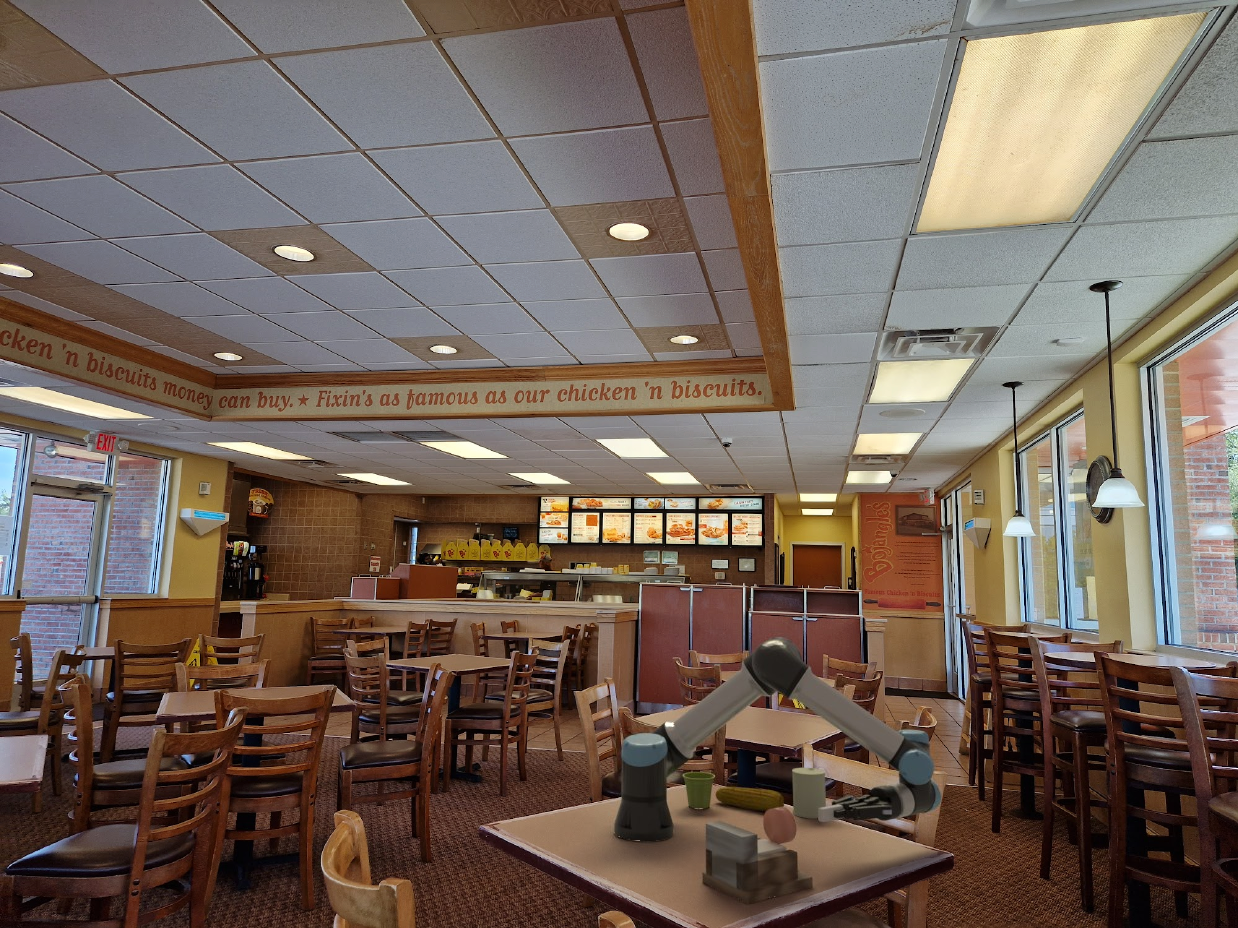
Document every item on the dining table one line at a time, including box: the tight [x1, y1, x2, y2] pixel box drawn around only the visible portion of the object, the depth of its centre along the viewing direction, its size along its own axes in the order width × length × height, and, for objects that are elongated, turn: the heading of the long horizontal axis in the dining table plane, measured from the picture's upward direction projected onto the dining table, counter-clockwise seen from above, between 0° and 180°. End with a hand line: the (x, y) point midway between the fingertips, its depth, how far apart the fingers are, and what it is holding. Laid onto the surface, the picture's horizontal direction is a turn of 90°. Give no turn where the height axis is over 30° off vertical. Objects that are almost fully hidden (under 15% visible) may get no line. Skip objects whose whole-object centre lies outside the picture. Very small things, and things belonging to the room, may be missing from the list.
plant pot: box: [682, 771, 716, 809], centre depth 227 cm, size 9×9×9 cm
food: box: [715, 786, 785, 813], centre depth 226 cm, size 21×6×6 cm, turn 55°
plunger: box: [758, 806, 798, 856], centre depth 167 cm, size 13×7×12 cm, turn 123°
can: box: [791, 767, 827, 820], centre depth 221 cm, size 9×9×12 cm
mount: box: [701, 820, 814, 905], centre depth 165 cm, size 18×14×12 cm
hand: (820, 814), depth 176 cm, fingers closed
